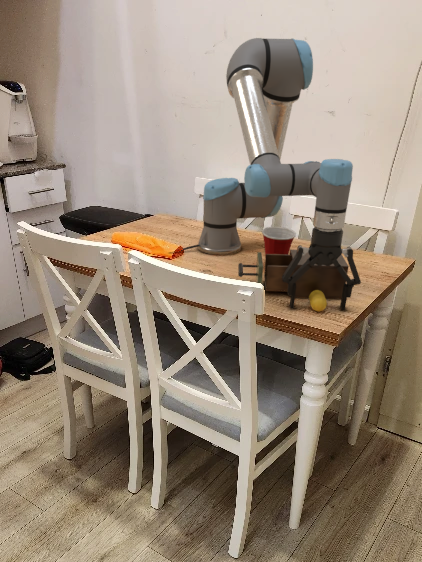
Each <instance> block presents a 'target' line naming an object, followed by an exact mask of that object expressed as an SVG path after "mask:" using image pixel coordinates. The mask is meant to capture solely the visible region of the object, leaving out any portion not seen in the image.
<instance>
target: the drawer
mask: <svg viewBox="0 0 422 562" xmlns="http://www.w3.org/2000/svg"><path fill="white" fill-rule="evenodd" d="M291 261H292V257H291V255H290V253H289V254H266V258H265V261H263V254H262V252H261V251H258V252H257V253H256V264H243V263H242V262H240V263H238V266H237V267H238V269H237V273H238V277H240V278H242V277H243V276H247V277H249V276H250V277H251V276H253V277H255V283H256V282H257V283H261V284H262V285H263V279H264V288H265V291H266V292H286V293H287V291H288V283H286V282H285V283H284V282H283V280H282V276H283V274H284V272H285V271H286V269H287V268H288V266H289V264H290V263H291ZM263 262H264V263H263ZM244 268H255V272H244ZM293 273H294V271H293V272H292V274H291V276H292V275H293ZM291 276H290V277H291Z"/></svg>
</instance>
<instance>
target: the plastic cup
mask: <svg viewBox="0 0 422 562" xmlns="http://www.w3.org/2000/svg"><path fill="white" fill-rule="evenodd" d="M261 234H262V236H263V237H262V238H263V246H264V255H265V256H264V257H265V258H266V254H289V255H290V250H291V246H292V244H293V241H294V239H295V238H296V236H297V232H296V231H295V230H293V229H291V228H287V227H283V226H268V227H264V228H262V229H261Z"/></svg>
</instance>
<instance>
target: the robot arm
mask: <svg viewBox="0 0 422 562" xmlns="http://www.w3.org/2000/svg"><path fill="white" fill-rule="evenodd" d="M226 68H227V69H226V74H225V79H226V86H227V90H228V93H229V95H230V97H231V98H232V99H234V103H235V104H234V105H235V107H236V110H237V115H238V120H239V124H240V128H241V132H242V136H243V141H244V145H245V149H246V152H247V158H248V161H249V165H248V166H247V167H246V168H245V171H244V179H243V181H244V182H239V180H238V178H235V177H222V178H216V179H212V180H210V181H208V182H206V183H205V184H204V187H203V196H202V199H203V226H202V227H203V228H202V230H201V233H200V236H199V240H198V242H197V243H198V244H195V245H191V246H187V247H183V248H182V249H183V250H181V251H179V252H178V253H180V252H183V251H186V250H190V249H194V248H198V250H199V251H200V252H202V253H205V254H209V255H214V256H227V255H234V254H237V253H239V252H240V251H241V250H242V249H241V248H242V243H241V239H240V236H239V231H238V228H237V227H238V226H237V225H238V224H237V223H238V220H239V219H257V218H261V219H266V218H272V217H274V216H276V215H277V214H278V213H279V212H280V210H281V207H282V204H283V200H284V197H301V196H302V197H303V196H313V197H315V207H314V215H313V222H312V225H313V228H312V231H311V238H310V245H309V247H305V246H302V245H301V244H299V245H298V246H297V249H296V250H297V252H296V255H295V256H294V258H293V260H292V261H291V263H290V264H289V266H288V268H287V269H286V271H285V272H284V274H283V276H282V280H283V282H284V283H285V282H286V283H288V291H287V292H286V293H287V296H289V297H290V299H289V306H290V309H293V310H294V309H295V300H296V298H295V293H296V283H295V282H296V281H297V280H298V279H299V278H300V277H301V276H302V275H303V274H304V273H305V272H306V271H307V270H308V269H309V268H311V267H312V266H313V265H314V264H316V265H318V266H321V265H326V266H330V265H332V264H334V266H335V267H336V268H337V270H338V271H339V272H340V274H341V275H342V277H343V278H344V279H345V281H346V284H345V283H344V286H343V292H342V298H341V299H340V305H339V307H340V309H341V311H345V310H346V304H347V299H349V298H351V297H352V293H353V289H354V287H355V286H356V285H361V283H362V281H361V278H360V275H359V272H358V269H357V266H356V263H355V260H354V250H353V248H352V246H347V247H346V248H342V243H343V235H344V230H343V228H345V223H346V216H347V208H348V203H349V197H350V192H351V186H352V183H353V168H354V165H353V163H352V161H350V160H348V159H343V158H342V159H341V158H326V159H323V160H322V161H321V162H320V161H317V160H316V161H314V160H307V161H305V162H304V163H303V162H302V163H282V162H281V158H282V153H283V149H284V144H285V141H286V137H287V131H288V127H289V123H290V117H291V113H292V109H293V104H294V103H296V102H297V101H298V100H299V99H300V96H301V92H302V90H303V91H305V90H306V89H308V88H309V87H310V85H311V83H312V79H313V73H314V58H313V51H312V49H311V46H310V45H309V43H308V42H307V41H306V40H304V39H303V40H302V39H295V38H262V37H253V38H250V39H248V40H246V41H244V42H243V43H242V44H240V45H239V46H238V47H237V48H236V49H235V50H234V52H233V53H232V55H231V57H230V59H229V61H228V65H227V67H226ZM306 253H309V255H310V257H309V258H308V259H307V261H306V262H305V263H304V264H303V265H302V266H301V267H300V268H299V269H298V270H297V271H296V272H295V273H294V274H293V275H292V276H291V274H292V272H293V271H294V269H295V268H296V266H297V265H298V263H299V261H300V260H301V258H302V256H304V255H305V254H306ZM341 254H342V255H343V257H344V258H346V260H347V264H348V266H349V268H350V272H351V275H352V277H353V278H351V277H350V276H349V274H348V273H346V272H345V270H344V269H343V267H342V266H341V265H340V263H339V262H338V260H337V259H338V258H339V256H340V255H341ZM290 276H291V277H290Z"/></svg>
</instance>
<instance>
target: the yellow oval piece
mask: <svg viewBox="0 0 422 562" xmlns="http://www.w3.org/2000/svg"><path fill="white" fill-rule="evenodd" d="M308 301H309V304H310V307H311V309H312V310H313V311H315V312H317V313H318V312H322V311H324V310H325V309H326V308H327V306H328V301H327V299H326V298H325V296H324V294H323V292H321V291H319V290H315V291H313V292H311V294H310V295H309V298H308Z"/></svg>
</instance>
